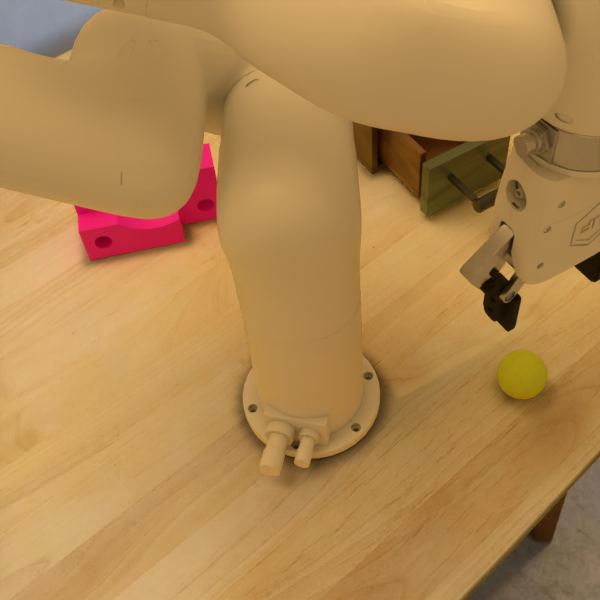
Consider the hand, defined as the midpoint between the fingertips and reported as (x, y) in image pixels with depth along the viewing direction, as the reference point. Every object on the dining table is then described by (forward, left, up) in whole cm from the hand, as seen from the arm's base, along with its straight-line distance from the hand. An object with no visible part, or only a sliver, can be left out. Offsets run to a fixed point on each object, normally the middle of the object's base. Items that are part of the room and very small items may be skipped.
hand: (541, 292), depth 67 cm
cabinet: (+34, +19, -14) cm, 42 cm away
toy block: (+13, +40, -14) cm, 45 cm away
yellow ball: (0, 0, -12) cm, 12 cm away
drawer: (+25, +10, -13) cm, 30 cm away
